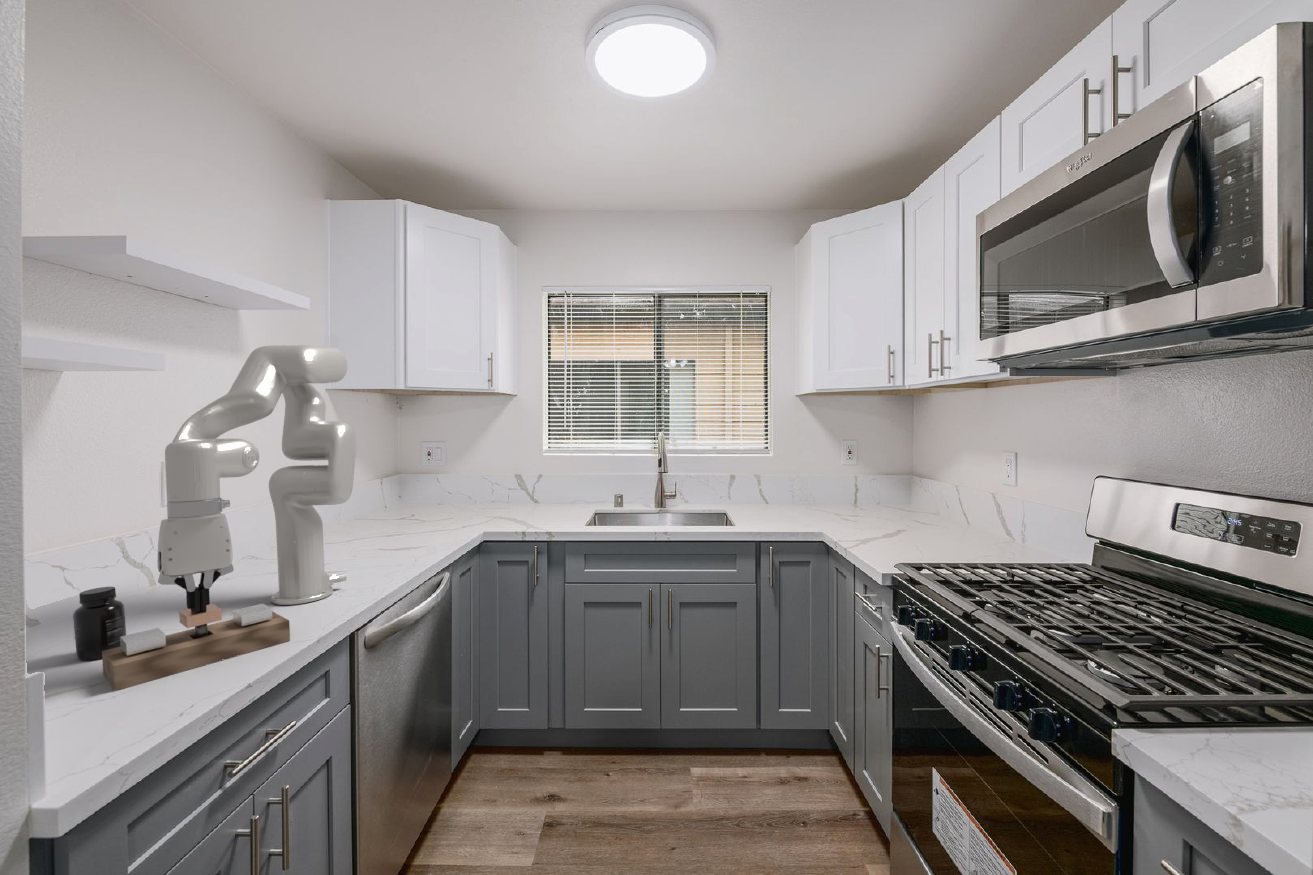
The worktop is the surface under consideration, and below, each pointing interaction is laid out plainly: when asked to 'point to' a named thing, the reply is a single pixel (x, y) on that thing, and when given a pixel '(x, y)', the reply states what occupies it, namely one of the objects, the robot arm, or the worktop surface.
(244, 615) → the button
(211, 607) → the middle button
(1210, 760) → the worktop surface
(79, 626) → the supplement bottle
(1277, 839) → the worktop surface
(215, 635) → the button panel
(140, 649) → the button
